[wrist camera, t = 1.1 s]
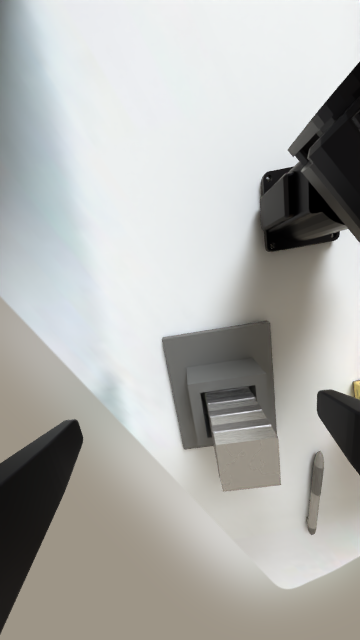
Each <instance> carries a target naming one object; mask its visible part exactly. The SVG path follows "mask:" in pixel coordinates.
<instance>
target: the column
mask: <svg viewBox="0 0 360 640" xmlns="http://www.w3.org/2000/svg"><path fill="white" fill-rule="evenodd" d="M204 393H205V399H206V406H207V412H208V418H209V423H210V429H211V433H212V439H213V443H214V450H215V455H216V459H217V465H218V471H219V477H220V478H221V484H222V489H223V492H224V491H232V490H241V489H250V488H259V487H267V486H276V485H281V478H280V461H279V444H278V436H277V435H276V433H275V431H274V430H273V428H272V424H271V423H270V421H269V419H268V418H266V416H265V415H264V413H263V410H262V408H261V406H260V405H259V404H258V403H257V401H256V399H255V396H254V395H253V393H251V391H250V389H249V386H245V387H238V388H231V389H224V390H217V391H210V392H204Z"/></svg>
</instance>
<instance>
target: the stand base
mask: <svg viewBox="0 0 360 640" xmlns="http://www.w3.org/2000/svg"><path fill="white" fill-rule="evenodd" d="M162 342H163V347H164V352H165V357H166V362H167V367H168V372H169V377H170V382H171V387H172V392H173V397H174V402H175V407H176V412H177V417H178V422H179V427H180V432H181V437H182V442H183V447H184V449H191V448H200V447H207V446H214V443H213V439H212V433H211V429H210V423H209V418H208V412H207V406H206V399H205V393H204V392H210V391H217V390H224V389H231V388H238V387H245V386H249V389H250V391H251V393H253V395H254V396H255V399H256V401H257V403H258V404H259V405H260V406H261V408H262V410H263V413H264V415H265V416H266V418H268V419H269V421H270V423H271V424H272V428H273V430H274V431H275V433H276V435H277V430H276V414H275V397H274V381H273V364H272V348H271V331H270V323H269V322H267V321H263V322H257V323H251V324H244V325H238V326H231V327H225V328H219V329H212V330H206V331H200V332H193V333H187V334H181V335H174V336H168V337H163V338H162Z"/></svg>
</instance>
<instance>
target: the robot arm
mask: <svg viewBox="0 0 360 640" xmlns="http://www.w3.org/2000/svg"><path fill="white" fill-rule="evenodd" d="M288 151H289V152H290V154H291V155H292V156H293V157H294V156H296V158H297V159H298V160H299V162H298V163H297V164H296V165H295V166H294V167H290V168H284V169H279V170H274V171H269V172H267V173H266V174H265V175H264V176H263V177H262V180H261V185H262V197H261V199H260V209H261V224H262V229H263V230H264V234H265V248H266V250H267V251H268V252H273V251H279V250H285V249H291V248H296V247H302V246H308V245H313V244H319V243H325V242H330V241H334V240H336V239H338V237H339V234H340V231H342V230H345V229H349V230H350V231H351V233H352V234H353V235H354V236H355V237H356V239H357V240H358V241H359V242H360V62H359V63H358V64H357V65H356V67H355V68H354V69H353V70H352V71H351V73H350V74H349V75H348V76H347V77H346V78H345V80H344V81H343V82H342V83H341V84H340V86H339V87H338V88H337V89H336V90H335V91H334V93H333V94H332V95H331V96H330V97H329V99H328V100H327V101H326V102H325V103H324V105H323V106H322V107H321V108H320V110H319V111H318V112H317V113H316V114H315V116H314V117H313V118H312V119H311V121H310V122H309V123H308V124H307V126H306V127H305V128H304V130H303V131H302V132H301V133H300V135H299V136H298V137H297V139H296V140H295V141H294V142H293V144H292V145H291V146H290V147H289V149H288ZM266 177H269V178H270V182H268V181H267V180H266ZM332 233H333V237H331V234H332ZM270 244H273V248H272V249H271V248H270ZM317 413H318V416H319V417H320V419H321V421H322V422H323V424H324V425H325V426H326V428H327V429H328V431H329V432H330V434H331V435H332V437H333V438H334V440H335V441H336V443H337V444H338V446H339V447H340V449H341V450H342V452H343V453H344V455H345V456H346V457H347V459H348V460H349V462H350V463H351V464H352V466H353V467H354V468H355V470H356V471H357V472H358V473H359V475H360V400H359V399H356V398H354V397H351V396H348V395H345V394H343V393H340V392H337V391H334V390H321V391H319V392H318V394H317ZM82 443H83V435H82V432H81V429H80V426H79V423H78V421H77V420H76V419H72V420H66V421H63V422H62V423H60V424H59V425H58V426H56V427H54V428H53V429H51V430H50V431H48V432H47V433H46V434H44V435H42V436H41V437H39V438H38V439H36V440H35V441H33V442H32V443H30V444H29V445H27V446H26V447H24V448H23V449H21V450H20V451H18V452H17V453H15V454H14V455H12V456H11V457H9V458H8V459H6V460H5V461H3V462H2V463H0V634H1V632H2V629H3V627H4V625H5V623H6V620H7V618H8V616H9V614H10V612H11V609H12V607H13V605H14V603H15V601H16V598H17V596H18V594H19V592H20V589H21V587H22V585H23V583H24V581H25V578H26V576H27V574H28V572H29V570H30V567H31V565H32V563H33V561H34V559H35V557H36V554H37V552H38V550H39V548H40V546H41V543H42V541H43V539H44V537H45V535H46V532H47V530H48V528H49V526H50V523H51V521H52V519H53V517H54V515H55V512H56V510H57V508H58V506H59V504H60V501H61V499H62V497H63V494H64V492H65V490H66V487H67V485H68V482H69V479H70V476H71V474H72V471H73V468H74V465H75V462H76V460H77V457H78V454H79V452H80V449H81V446H82Z"/></svg>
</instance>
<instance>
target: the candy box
mask: <svg viewBox="0 0 360 640" xmlns="http://www.w3.org/2000/svg"><path fill="white" fill-rule="evenodd" d="M353 384H354V393H355V398H356V399H359V400H360V380H358V381H354V382H353Z"/></svg>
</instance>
